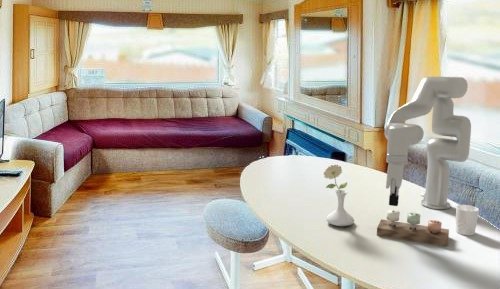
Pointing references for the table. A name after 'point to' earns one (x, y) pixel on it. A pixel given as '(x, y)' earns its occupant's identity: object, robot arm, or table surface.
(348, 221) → the flower in vase
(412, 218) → the plunger
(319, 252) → the table surface
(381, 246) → the table surface
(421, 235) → the button board
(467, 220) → the white cup
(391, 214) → the plunger
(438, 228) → the plunger
